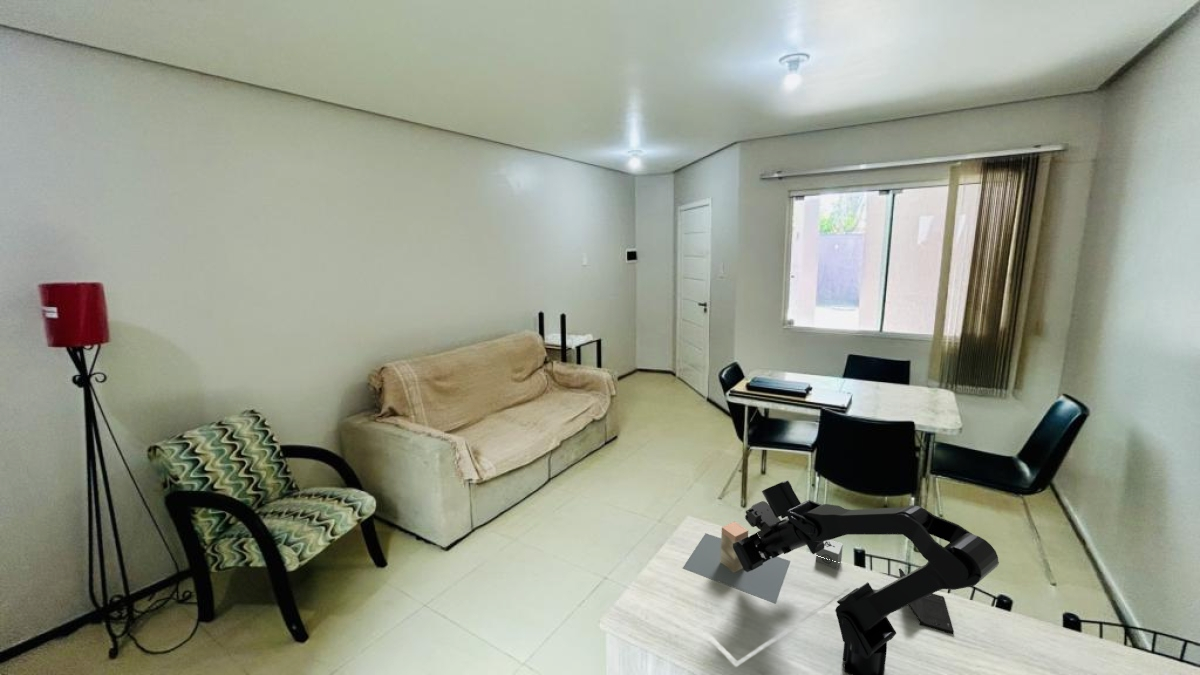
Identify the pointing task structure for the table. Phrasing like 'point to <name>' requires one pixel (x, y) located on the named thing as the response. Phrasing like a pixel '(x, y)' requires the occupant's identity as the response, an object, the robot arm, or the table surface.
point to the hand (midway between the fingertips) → (748, 551)
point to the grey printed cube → (830, 553)
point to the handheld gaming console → (932, 612)
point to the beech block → (731, 545)
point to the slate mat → (754, 582)
